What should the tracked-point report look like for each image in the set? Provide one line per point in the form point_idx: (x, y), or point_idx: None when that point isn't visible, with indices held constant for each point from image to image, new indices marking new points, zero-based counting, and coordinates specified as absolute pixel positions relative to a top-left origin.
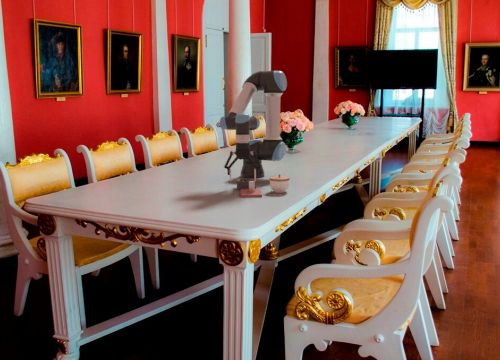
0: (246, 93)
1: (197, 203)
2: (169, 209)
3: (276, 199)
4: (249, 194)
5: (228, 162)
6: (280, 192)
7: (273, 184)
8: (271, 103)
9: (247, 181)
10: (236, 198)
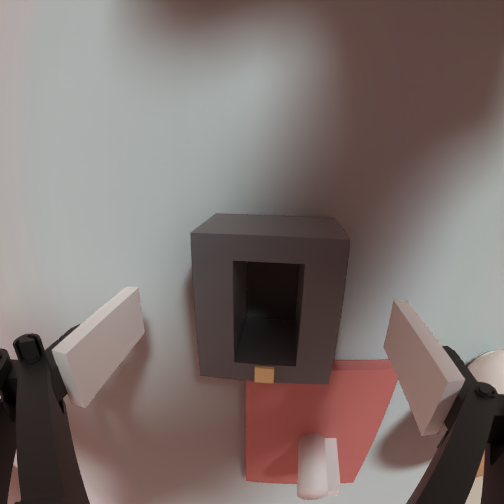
0: None
1: (106, 481)
2: None
3: (392, 492)
4: (292, 479)
5: (11, 456)
6: None
7: None
8: None
9: (307, 382)
10: (228, 480)
